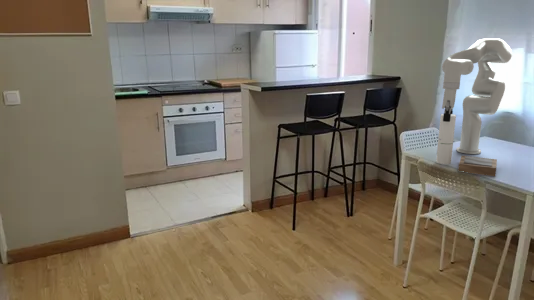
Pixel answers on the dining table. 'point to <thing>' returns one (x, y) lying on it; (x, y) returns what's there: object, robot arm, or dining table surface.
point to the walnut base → (478, 165)
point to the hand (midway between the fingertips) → (447, 119)
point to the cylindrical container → (445, 140)
